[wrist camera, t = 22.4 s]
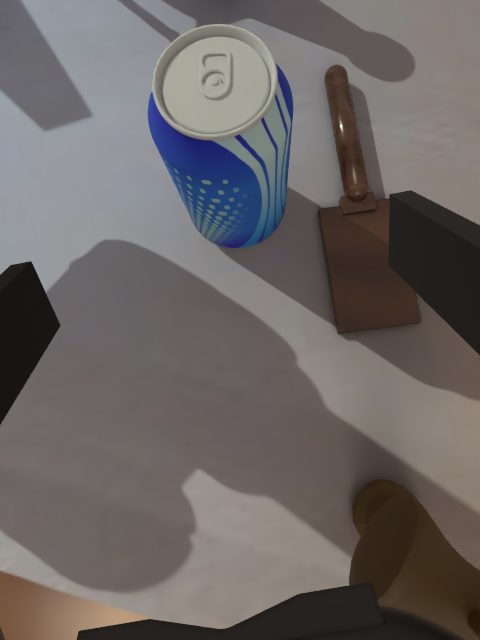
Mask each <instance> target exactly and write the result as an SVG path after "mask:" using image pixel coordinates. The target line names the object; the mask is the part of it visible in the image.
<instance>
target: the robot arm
mask: <svg viewBox="0 0 480 640" xmlns="http://www.w3.org/2000/svg"><path fill="white" fill-rule="evenodd" d="M388 265H389V266H390V267H391V268H392V269H393V270H394V271H395V272H396V273H397V274H398V275H399V276H400V277H401V278H402V279H403V280H404V281H405V282H406V283H407V284H408V285H409V286H410V287H411V288H412V289H413V290H414V291H415V292H416V293H417V294H418V295H419V296H420V297H421V298H422V299H423V300H424V301H425V302H426V303H427V304H428V305H429V306H430V307H431V308H432V309H433V310H434V311H435V312H436V313H437V314H438V315H439V316H440V317H442V318H443V319H444V320H445V321H446V322H447V323H448V324H449V325H450V326H451V327H452V328H453V329H454V330H455V331H456V332H457V333H458V334H459V335H460V336H461V337H462V338H463V339H464V340H465V341H466V342H467V343H468V344H469V345H470V346H471V347H472V348H473V349H474V350H475V351H476V352H477V353H478V354H479V355H480V225H478V224H476V223H474V222H472V221H470V220H468V219H466V218H464V217H462V216H460V215H458V214H456V213H454V212H452V211H450V210H448V209H446V208H444V207H442V206H440V205H438V204H437V203H435V202H433V201H431V200H429V199H427V198H425V197H423V196H421V195H419V194H417V193H415V192H413V191H406V192H400V193H395V194H390V203H389V258H388ZM59 327H60V323H59V321H58V319H57V317H56V315H55V312H54V310H53V308H52V306H51V304H50V301H49V299H48V297H47V295H46V293H45V290H44V288H43V286H42V284H41V282H40V279H39V277H38V275H37V273H36V271H35V268H34V266H33V264H32V262H25V263H20V264H15V265H10V266H9V267H8V268H7V269H6V270H5V271H4V272H3V273H2V274H1V275H0V424H1V423H2V421H3V420H4V418H5V416H6V415H7V413H8V411H9V410H10V408H11V406H12V405H13V403H14V401H15V400H16V398H17V396H18V395H19V393H20V391H21V390H22V388H23V387H24V385H25V383H26V382H27V380H28V378H29V377H30V375H31V373H32V372H33V370H34V368H35V367H36V365H37V363H38V362H39V360H40V358H41V357H42V355H43V353H44V352H45V350H46V349H47V347H48V345H49V344H50V342H51V340H52V339H53V337H54V335H55V334H56V332H57V330H58V329H59ZM0 640H5V638H4V636H3V633H2V630H1V628H0ZM77 640H465V639H464V638H462V637H461V636H459V635H458V634H456V633H455V632H453V631H451V630H449V629H448V628H446V627H444V626H442V625H440V624H438V623H436V622H434V621H432V620H430V619H427V618H425V617H422V616H420V615H417V614H415V613H412V612H409V611H405V610H401V609H397V608H394V607H387V606H380V605H379V604H378V601H377V598H376V595H375V592H374V589H373V586H372V583H371V582H367V583H361V584H355V585H349V586H343V587H338V588H332V589H326V590H320V591H314V592H308V593H302V594H298V595H296V596H294V597H292V598H290V599H288V600H285V601H283V602H281V603H279V604H277V605H275V606H273V607H271V608H269V609H267V610H265V611H263V612H261V613H259V614H257V615H255V616H253V617H251V618H248V619H246V620H244V621H242V622H240V623H238V624H236V625H234V626H232V627H229V628H226V629H214V628H207V627H201V626H194V625H187V624H180V623H173V622H166V621H159V620H152V619H147V620H141V621H136V622H130V623H124V624H118V625H112V626H106V627H100V628H94V629H88V630H82V631H79V632H78V637H77ZM478 640H480V633H479V638H478Z"/></svg>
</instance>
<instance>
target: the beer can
mask: <svg viewBox="0 0 480 640" xmlns="http://www.w3.org/2000/svg"><path fill="white" fill-rule="evenodd" d="M292 119H293V99H292V93H291V89H290V86H289V84H288V81H287V79H286V77H285V75H284V73H283V72H282V70H281V69H280V67H279V66H278V65H277V64H276V63H275V60H274V57H273V55H272V53H271V52H270V50H269V48H268V47H267V46H266V44H265V43H264V42H263V41H262V40H261V39H260V38H258V37H257V36H256V35H255V34H253V33H251V32H250V31H248V30H245V29H243V28H240V27H237V26H233V25H227V24H211V25H205V26H201V27H197V28H195V29H192V30H190V31H188V32H186V33H184V34H182V35H181V36H179V37H178V38H176V39H175V40H174V41H173V42H172V43H171V44H170V45H169V46H168V47H167V48H166V49H165V50H164V52H163V53H162V55H161V56H160V58H159V60H158V62H157V64H156V67H155V70H154V74H153V81H152V92H151V95H150V99H149V106H148V122H149V127H150V131H151V135H152V138H153V140H154V142H155V144H156V146H157V148H158V151H159V153H160V155H161V157H162V159H163V161H164V163H165V165H166V167H167V169H168V171H169V173H170V175H171V177H172V180H173V182H174V184H175V186H176V188H177V190H178V192H179V194H180V196H181V198H182V200H183V202H184V204H185V206H186V209H187V211H188V213H189V215H190V217H191V219H192V221H193V223H194V225H195V227H196V228H197V230H198V231H199V232H200V233H201V234H202V235H203V236H204V237H205V238H206V239H208V240H209V241H210V242H212V243H214V244H216V245H219V246H222V247H226V248H235V249H237V248H246V247H250V246H253V245H256V244H258V243H260V242H262V241H263V240H265V239H266V238H267V237H269V236H270V235H271V234H272V233H273V232H274V231H275V229H276V228H277V227H278V225H279V223H280V221H281V219H282V217H283V214H284V210H285V203H286V191H287V179H288V167H289V155H290V143H291V131H292Z"/></svg>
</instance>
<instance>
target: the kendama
mask: <svg viewBox="0 0 480 640" xmlns="http://www.w3.org/2000/svg"><path fill="white" fill-rule="evenodd" d="M353 522H354V524H355V526H356V528H357V530H358V532H359V534H360V535H361V538H360V540H359V542H358V544H357V547H356V550H355V552H354V555H353V558H352V561H351V568H350V575H349V583H350V585H355V584H361V583H367V582H371V583H372V586H373V589H374V592H375V595H376V598H377V601H378V604H379V605H380V606H387V607H394V608H397V609H401V610H405V611H409V612H412V613H415V614H417V615H420V616H422V617H425V618H427V619H430V620H432V621H434V622H436V623H438V624H440V625H442V626H444V627H446V628H448V629H449V630H451V631H453V632H455V633H456V634H458V635H459V636H461V637H462V638H464V639H465V640H478V638H479V633H480V570H478V569H477V568H475V567H474V566H473V565H471V564H470V563H469V562H468V561H466V560H465V559H464V558H463V557H462V556H461V555H460V554H459V553H458V552H457V551H456V550H455V549H454V548H453V547H452V546H451V545H450V543H449V542H448V541H447V539H446V538H445V537H444V535H443V534H442V533H441V531H440V530H439V528H438V527H437V525H436V524H435V522H434V521H433V519H432V518H431V516H430V515H429V513H428V512H427V511H426V509H425V508H424V507H423V505H422V504H421V503H420V502H419V501H418V500H417V499H415V497H414V496H413V495H412V494H411V493H410V492H409V491H407V490H406V489H405V488H404V487H403V486H400V485H398V484H396V483H394V482H392V481H387V480H376V481H374V482H371V483H369V484H367V485H366V486H365V487H364V488H363V489H362V490H361V491H360V492H359V493H358V495H357V497H356V500H355V502H354V505H353Z"/></svg>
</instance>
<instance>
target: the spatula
mask: <svg viewBox="0 0 480 640" xmlns="http://www.w3.org/2000/svg"><path fill="white" fill-rule="evenodd" d="M325 86H326V91H327V97H328V103H329V108H330V114H331V120H332V125H333V131H334V136H335V142H336V148H337V153H338V159H339V165H340V170H341V176H342V182H343V187H344V193H345V196H341V198H340V200H339V204H340V206H336V207H330V208H323V209H319V210H318V217H319V223H320V229H321V235H322V241H323V247H324V253H325V259H326V266H327V272H328V278H329V284H330V290H331V296H332V302H333V308H334V314H335V320H336V326H337V332H338V334H341V333H348V332H356V331H364V330H371V329H379V328H386V327H394V326H401V325H409V324H416V323H420V322H421V316H420V311H419V306H418V301H417V296H416V292H415V291H414V290H413V289H412V288H411V287H410V286H409V285H408V284H407V283H406V282H405V281H404V280H403V279H402V278H401V277H400V276H399V275H398V274H397V273H396V272H395V271H394V270H393V269H392V268H391V267H390V266H389V265H388V258H389V203H390V199H383V200H377V201H375V199H374V193H373V192H368V183H367V178H366V172H365V167H364V162H363V156H362V151H361V146H360V140H359V135H358V130H357V124H356V119H355V114H354V108H353V103H352V98H351V92H350V87H349V82H348V76H347V72H346V70H345V68H344V67H343V66H341V65H334V66H332V67H330V68H329V69H328V70H327V72H326V74H325Z"/></svg>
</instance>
